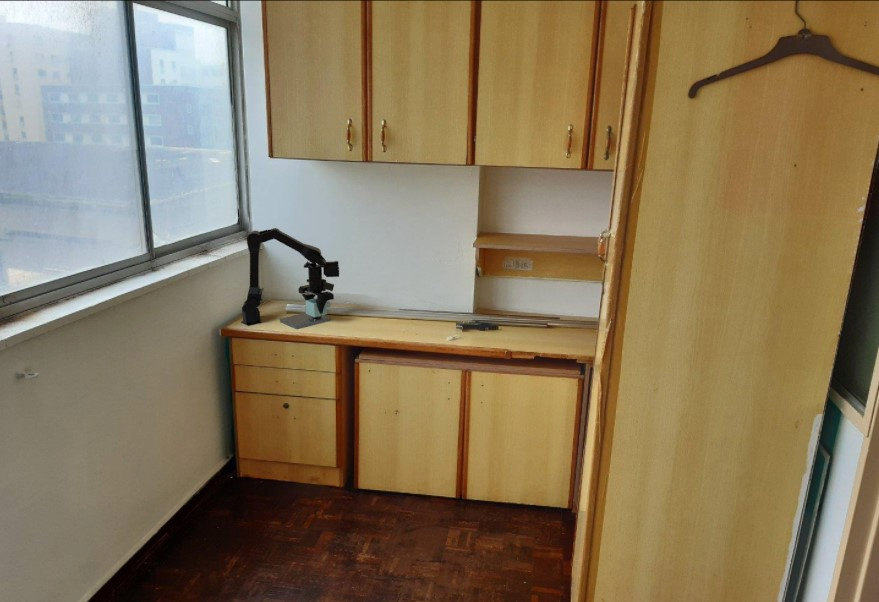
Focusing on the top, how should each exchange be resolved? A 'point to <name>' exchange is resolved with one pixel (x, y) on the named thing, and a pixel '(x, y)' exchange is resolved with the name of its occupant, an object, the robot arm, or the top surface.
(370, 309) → the top surface
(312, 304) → the duct collar
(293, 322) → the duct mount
